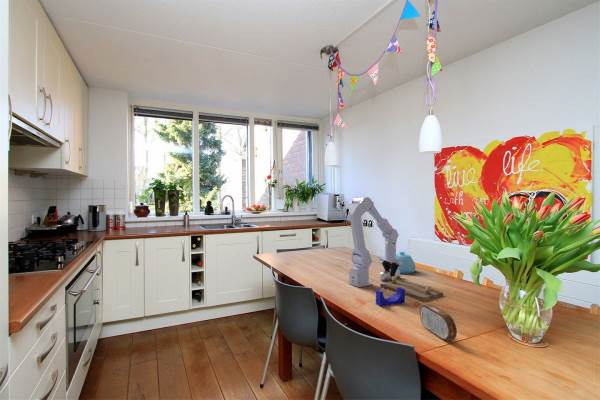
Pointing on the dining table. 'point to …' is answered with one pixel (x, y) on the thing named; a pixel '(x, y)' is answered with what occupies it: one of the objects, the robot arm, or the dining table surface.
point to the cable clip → (390, 298)
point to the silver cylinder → (388, 275)
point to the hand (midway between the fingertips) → (390, 276)
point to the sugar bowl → (405, 263)
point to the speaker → (438, 322)
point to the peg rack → (412, 289)
